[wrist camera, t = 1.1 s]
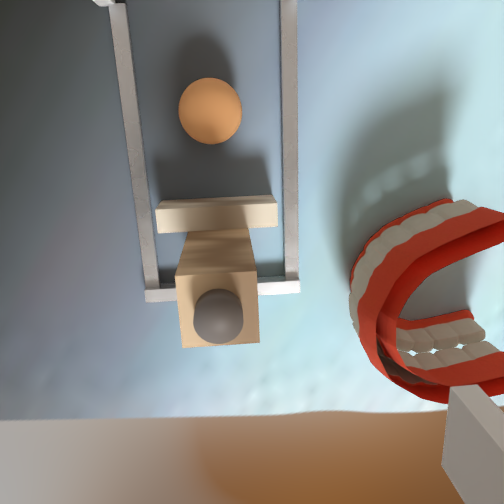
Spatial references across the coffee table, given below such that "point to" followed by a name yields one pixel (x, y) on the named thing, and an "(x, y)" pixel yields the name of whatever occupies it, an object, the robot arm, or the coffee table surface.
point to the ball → (210, 110)
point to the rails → (139, 170)
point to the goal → (104, 2)
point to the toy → (405, 283)
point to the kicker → (217, 266)
